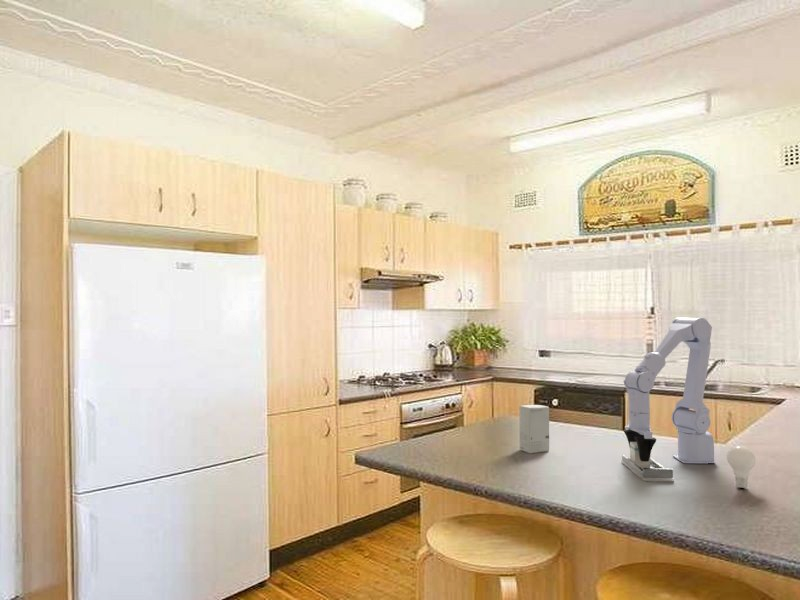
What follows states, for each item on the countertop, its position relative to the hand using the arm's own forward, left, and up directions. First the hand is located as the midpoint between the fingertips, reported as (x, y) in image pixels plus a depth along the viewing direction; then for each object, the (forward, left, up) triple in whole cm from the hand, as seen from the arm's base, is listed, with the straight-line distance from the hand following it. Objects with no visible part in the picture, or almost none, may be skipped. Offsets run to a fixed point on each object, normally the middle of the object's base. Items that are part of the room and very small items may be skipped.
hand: (639, 457), depth 163 cm
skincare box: (+28, -17, -3) cm, 33 cm away
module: (0, 0, -2) cm, 2 cm away
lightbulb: (-19, +19, -3) cm, 27 cm away
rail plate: (0, +5, -3) cm, 6 cm away
